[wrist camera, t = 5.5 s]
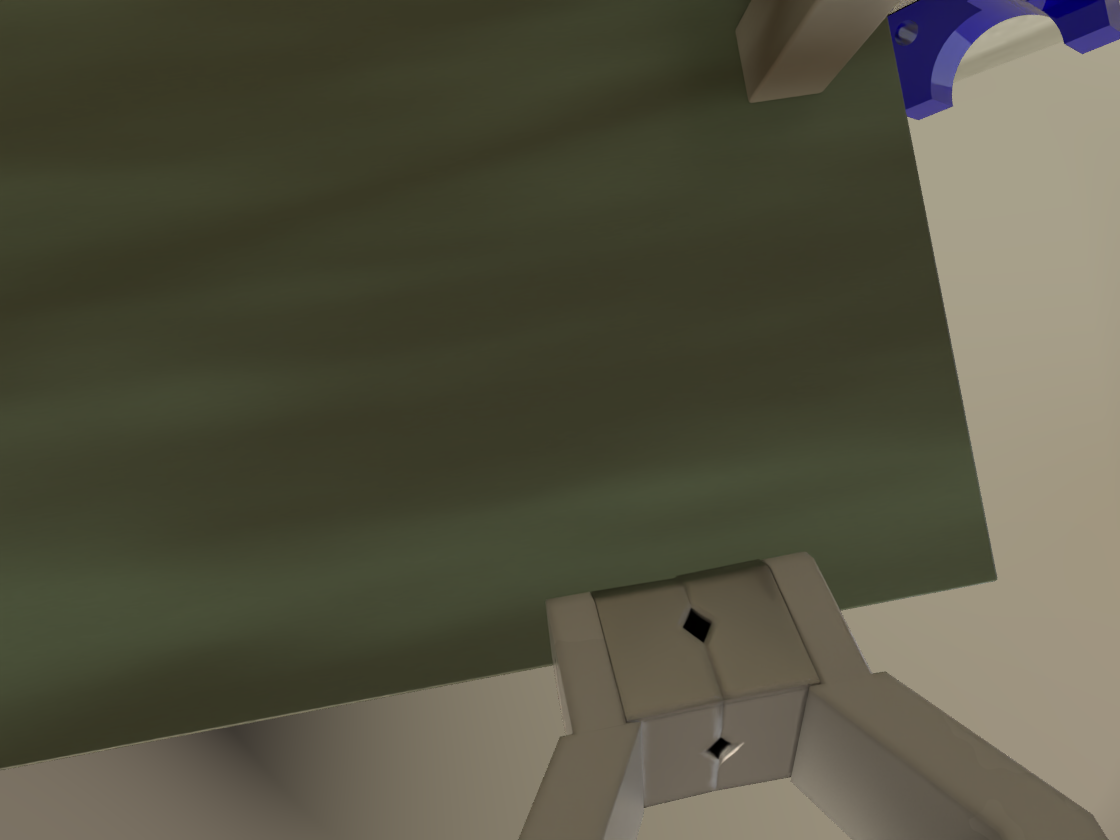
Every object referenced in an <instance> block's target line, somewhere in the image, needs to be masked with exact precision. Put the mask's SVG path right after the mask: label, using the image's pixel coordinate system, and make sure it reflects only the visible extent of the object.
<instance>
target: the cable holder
mask: <svg viewBox="0 0 1120 840" xmlns="http://www.w3.org/2000/svg"><path fill="white" fill-rule="evenodd" d="M1021 15H1043V16H1047V17H1050V18H1051V19H1052V20H1053V21H1054V22H1055V23H1056V25H1057V26H1058V28H1059V30H1060V32H1061V34H1062V37H1063V40H1064V44H1066V45H1067V46H1069V47H1071V48H1073V49H1074V50H1076V51H1078V52H1080V53H1082V54H1084V53H1086V52H1089V51H1091V50H1094V49H1096V48H1099V47H1101V46H1104V45H1106V44H1109V43H1111V42H1114V41H1116V40H1119V39H1120V4H1119V0H919V1H917V2H915V3H913V4H911V5H909V6H907V7H905V8H903V9H901V10H899V11H897V12H895V13H893V14H891V15H889V16H887V17H888V23H889V28H890V33H891V38H892V43H893V48H894V53H895V58H896V63H897V69H898V74H899V79H900V84H901V89H902V94H903V99H904V104H905V109H906V114H907V117H910V118H914V119H917V120H920V119H923V118H925V117H927V116H930V115H933V114H935V113H937V112H940V111H942V110H945V109H947V108H950V107H952V106H953V104H952V85H953V80H954V76H955V73H956V70H957V67H958V65H959V63H960V61H961V59H962V57H963V56H964V54H965V53H966V51H967V50H968V48H969V47H970V46H971V45H972V44H973V42H974V41H975V40H976V39H977V38H978V37H979V36H980V35H982V34H983V33H984V32H985V31H987V30H988V29H989V28H991V27H992V26H994V25H996V24H998V23H1000V22H1002V21H1004V20H1006V19H1009V18H1012V17H1016V16H1021Z"/></svg>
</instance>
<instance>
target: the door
mask: <svg viewBox="0 0 1120 840" xmlns="http://www.w3.org/2000/svg"><path fill="white" fill-rule="evenodd" d="M899 1H900V0H0V770H5V769H10V768H16V767H21V766H26V765H31V764H37V763H42V762H47V761H52V760H58V759H63V758H68V757H74V756H79V755H84V754H89V753H95V752H100V751H105V750H110V749H116V748H121V747H126V746H131V745H136V744H142V743H147V742H152V741H157V740H163V739H168V738H173V737H178V736H184V735H189V734H194V733H199V732H205V731H210V730H215V729H221V728H226V727H231V726H237V725H241V724H247V723H252V722H257V721H262V720H268V719H273V718H278V717H284V716H289V715H294V714H300V713H305V712H310V711H315V710H321V709H325V708H331V707H336V706H342V705H347V704H352V703H357V702H362V701H368V700H373V699H378V698H384V697H388V696H394V695H399V694H405V693H409V692H415V691H420V690H425V689H431V688H436V687H442V686H447V685H452V684H457V683H463V682H467V681H473V680H478V679H483V678H489V677H494V676H499V675H505V674H510V673H515V672H520V671H526V670H531V669H536V668H541V667H547V666H552V665H553V660H552V653H551V645H550V637H549V628H548V620H547V612H546V604H545V602H546V600H547V599H552V598H558V597H563V596H568V595H574V594H579V593H585V592H590V593H591V592H592V591H597V590H604V589H610V588H616V587H622V586H628V585H634V584H640V583H646V582H652V581H658V580H664V579H670V578H675V577H676V576H678V575H682V574H687V573H692V572H697V571H702V570H707V569H712V568H717V567H722V566H727V565H731V564H736V563H741V562H746V561H751V560H756V559H760V560H763V559H768V558H773V557H778V556H783V555H788V554H793V553H797V552H807V553H808V554H809V555H810V556H812V557H813V558H814V560H815V562H816V564H817V566H818V568H819V570H820V572H821V573H822V575H823V577H824V579H825V581H826V583H827V585H828V587H829V589H830V591H831V593H832V595H833V597H834V599H835V601H836V603H837V605H838V607H839V609H840V611H841V610H846V609H851V608H857V607H862V606H867V605H872V604H878V603H883V602H888V601H894V600H899V599H904V598H909V597H914V596H920V595H925V594H930V593H936V592H941V591H946V590H951V589H957V588H962V587H967V586H972V585H978V584H983V583H988V582H993V581H996V580H997V574H996V569H995V564H994V559H993V554H992V549H991V543H990V538H989V534H988V528H987V523H986V518H985V513H984V508H983V503H982V497H981V493H980V487H979V482H978V477H977V473H976V467H975V462H974V457H973V452H972V446H971V441H970V436H969V431H968V426H967V421H966V416H965V411H964V406H963V400H962V395H961V390H960V385H959V380H958V375H957V370H956V365H955V360H954V355H953V350H952V344H951V339H950V334H949V329H948V324H947V319H946V314H945V309H944V303H943V298H942V293H941V288H940V283H939V278H938V273H937V268H936V263H935V257H934V252H933V247H932V242H931V237H930V232H929V227H928V222H927V217H926V211H925V206H924V202H923V196H922V191H921V186H920V181H919V176H918V171H917V166H916V161H915V155H914V150H913V145H912V140H911V135H910V130H909V125H908V120H907V114H906V109H905V104H904V99H903V94H902V89H901V84H900V79H899V74H898V69H897V63H896V58H895V53H894V48H893V43H892V38H891V33H890V28H889V23H888V17H887V15H888V14H889V13H890V12H891V10H892V9H893V8H894V7H895V6H896V5H897V3H898V2H899Z"/></svg>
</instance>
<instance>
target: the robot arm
mask: <svg viewBox="0 0 1120 840" xmlns="http://www.w3.org/2000/svg"><path fill="white" fill-rule="evenodd" d="M545 604H546V612H547V620H548V628H549V637H550V645H551V653H552V660H553V666H554V673H555V679H556V686H557V693H558V699H559V704H560V709H561V714H562V719H563V723H564V728H565V734H566V736H562V737H560V738H559V740H558V743H557V746H556V748H555V751H554V753H553V756H552V758H551V760H550V763H549V765H548V768H547V770H546V772H545V775H544V777H543V780H542V782H541V785H540V787H539V790H538V792H537V795H536V797H535V800H534V802H533V805H532V807H531V810H530V812H529V815H528V817H527V819H526V822H525V824H524V827H523V829H522V832H521V834H520V837H519V839H518V840H636V839H637V835H638V832H639V828H640V825H641V821H642V818H643V814H644V808H645V807H649V806H653V805H657V804H662V803H666V802H670V801H674V800H679V799H683V798H687V797H691V796H696V795H700V794H704V793H708V792H712V791H717V790H722V789H728V788H733V787H738V786H745V785H750V784H756V783H761V782H767V781H772V780H777V779H783V778H788V777H791V782H792V783H793V784H794V785H795V786H796V787H797V788H798V789H799V790H800V791H801V792H802V793H804V794H805V795H806V796H807V797H808V798H809V799H810V800H811V801H812V802H813V803H814V804H815V805H816V806H817V807H818V808H820V810H821V811H822V812H824V813H825V814H826V815H827V816H828V817H829V818H830V819H831V820H832V821H833V822H834V823H835V824H836V825H837V826H838V827H839V828H840V829H841V830H843V832H845V833H846V834H847V835H848V836H849V837H850V838H851V839H852V840H1108V838H1107V837H1106V836H1105V834H1104V832H1103V830H1102V829H1101V827H1100V826H1099V824H1098V822H1097V821H1096V819H1095V818H1094V816H1093V815H1092V814H1091V813H1090V812H1088V811H1087V810H1085V809H1084V808H1082V807H1081V806H1080V805H1078V804H1077V803H1075V802H1074V801H1072V800H1071V799H1069V798H1068V797H1066V796H1065V795H1064V794H1062V793H1061V792H1059V791H1058V790H1056V789H1055V788H1053V787H1052V786H1051V785H1049V784H1048V783H1046V782H1045V781H1043V780H1042V779H1040V778H1039V777H1038V776H1036V775H1035V774H1033V773H1031V772H1030V771H1029V770H1027V769H1026V768H1025V767H1023V766H1022V765H1020V764H1019V763H1017V762H1016V761H1014V760H1013V759H1012V758H1010V757H1009V756H1007V755H1006V754H1004V753H1003V752H1001V751H1000V750H998V749H997V748H996V747H994V746H993V745H991V744H990V743H988V742H987V741H985V740H984V739H983V738H981V737H980V736H978V735H977V734H975V733H973V732H972V731H971V730H970V729H968V728H967V727H965V726H964V725H962V724H961V723H959V722H958V721H956V720H955V719H954V718H952V717H951V716H949V715H948V714H946V713H945V712H943V711H942V710H941V709H939V708H938V707H936V706H935V705H933V704H932V703H930V702H929V701H928V700H926V699H925V698H923V697H922V696H920V695H919V694H917V693H916V692H914V691H913V690H912V689H910V688H909V687H907V686H906V685H904V684H903V683H901V682H900V681H899V680H897V679H896V678H894V677H893V676H891V675H890V674H888V673H887V672H879V673H872V672H871V670H870V668H869V666H868V664H867V662H866V660H865V658H864V656H863V654H862V652H861V650H860V648H859V646H858V644H857V643H856V640H855V638H854V636H853V635H852V633H851V631H850V629H849V627H848V625H847V623H846V621H845V619H844V617H843V615H842V613H841V611H840V609H839V607H838V605H837V603H836V601H835V599H834V597H833V595H832V593H831V591H830V589H829V587H828V585H827V583H826V581H825V579H824V577H823V575H822V573H821V572H820V570H819V568H818V566H817V564H816V562H815V560H814V558H813V557H812V556H810V555H809V554H808V553H807V552H797V553H793V554H788V555H783V556H778V557H773V558H768V559H763V560H760V559H756V560H751V561H746V562H741V563H736V564H731V565H727V566H722V567H717V568H712V569H707V570H702V571H697V572H692V573H687V574H682V575H678V576H676V577H675V578H670V579H664V580H658V581H652V582H646V583H640V584H634V585H628V586H622V587H616V588H610V589H604V590H597V591H592V592H591V593H590V592H585V593H579V594H574V595H568V596H563V597H558V598H552V599H547V600H546V602H545Z"/></svg>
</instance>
